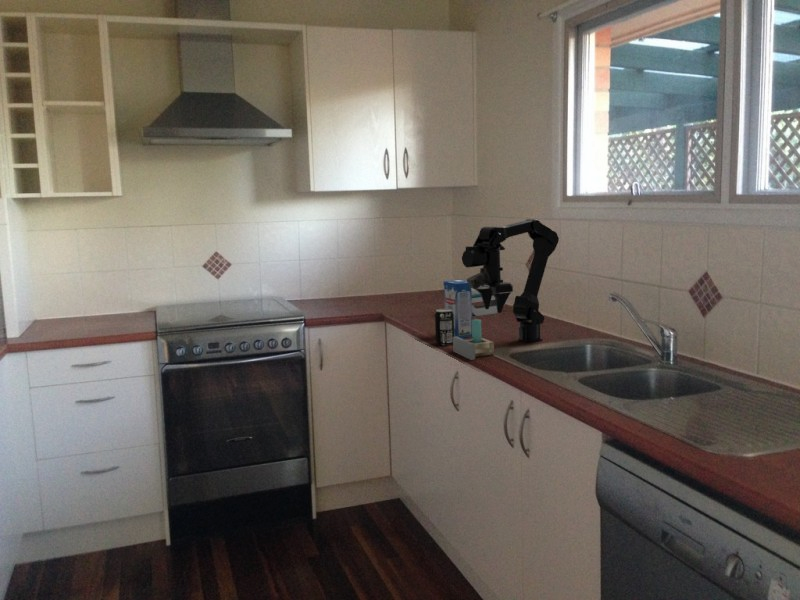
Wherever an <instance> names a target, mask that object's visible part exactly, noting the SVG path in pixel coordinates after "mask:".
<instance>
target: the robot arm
mask: <svg viewBox="0 0 800 600" xmlns="http://www.w3.org/2000/svg"><path fill="white" fill-rule="evenodd" d="M526 233H527V234H528V235H527V236H528V237H529V238H530V239H531V240H532V250H533V257H532V261H531V264H530V269H529V271H528V275H527V279H526V282H525V286H524V288H523V292H522V294H520V295H515V298H514V301H513V305H512V307H513V308H512V313H513V314H514V317H515V320H516V322H517V323H519V327H518V338H517V339H518V341H519V340H520V341H523V342H525V343H531V342H539V341H543V338H541V324H544V321H545V316H544V315H543V314H542V312H540V311H539V309H540V302H539V298H538V295H539V292H540V287H541V285H542V281H543V278H544V275H545V270H546V267H547V263H548V260H549V257H550V256H551V255H552V254H553V252H555V250H556V249H557V246H558V244H559V239H560V237H559V234H558V233H557V232H556V230H552V229H551V228H550V227H548V226H546V225H545V224H543V223H542V222H541V221H540V220H538V219H537V218H536V219H533V218H529V219H525V220H522V221H519V222H514V223H510V224H506V225H502V226H483V227H482V228H480V230H479V233H478V235H477V238H476V240H475V241H474V243H473V245H472V246H470V245H469V246H465V250H464V251H463V253H462V256H461V262H462V264H463V266H464V267H465V268H466V269H467V268H475V267H480V269H479V272H478V273H475V274H474V275H471V276H470V277H468V278H466V281H467V282H468V284H469V287H470V288H473V289H475V290H477V291H478V292H479V293H480V294H481V297H482V300H483V301H482V303H483V305H484V306H485V309H489V306H490V302H491V298H492V295H493V296H494V297H495V300H496V307H497V312H498V313H497V314H501V313H502V311H503V309H504V307H505V306H504V305H506V304H505V302H506V300H507V298H508V296H509V297H510V295H511V293H512V292H514V285H513V284H512V283H511V282H507V281H505V282H504V279H502V277H501V275H502V274H501V272H502V271H504V267H502V266H501V251H505V250H506V248H505V246H503V245H502V244H501V243H503V242H505V241H506V240H507V239H508V238H511V237H512V238H513V237H514V236H519V235H524V234H526Z"/></svg>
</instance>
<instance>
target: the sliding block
mask: <svg viewBox="0 0 800 600" xmlns="http://www.w3.org/2000/svg"><path fill="white" fill-rule="evenodd" d="M481 338H482V343H474V344H475V358H477V357H484V356H492V355H491V354H493V355H495V350H494V348H495V347H494V343H495V342H494V341H491V340H489V339H486V338H484V337H481ZM466 340H467V341H469V342H471V343H472V338H470V339H466Z"/></svg>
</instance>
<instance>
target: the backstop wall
mask: <svg viewBox="0 0 800 600" xmlns="http://www.w3.org/2000/svg"><path fill="white" fill-rule="evenodd" d="M467 340H468V339H465V338H460V337H457V336H456V337H453V344H452V347H453V350H452V351H453V353H456V354H458V355H460V356H462V357H464V358H466V359H467V360H470V361H473V360H476V357H475V344H474V343H471V342H469V341H467Z"/></svg>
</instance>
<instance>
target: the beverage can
mask: <svg viewBox="0 0 800 600" xmlns="http://www.w3.org/2000/svg"><path fill="white" fill-rule="evenodd" d="M434 324H435V329H434V330H435V343H437V345H438V346H453V337H455V335H454V314H453V312H452V309H445V308H439V309H436V310H435V313H434Z"/></svg>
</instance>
